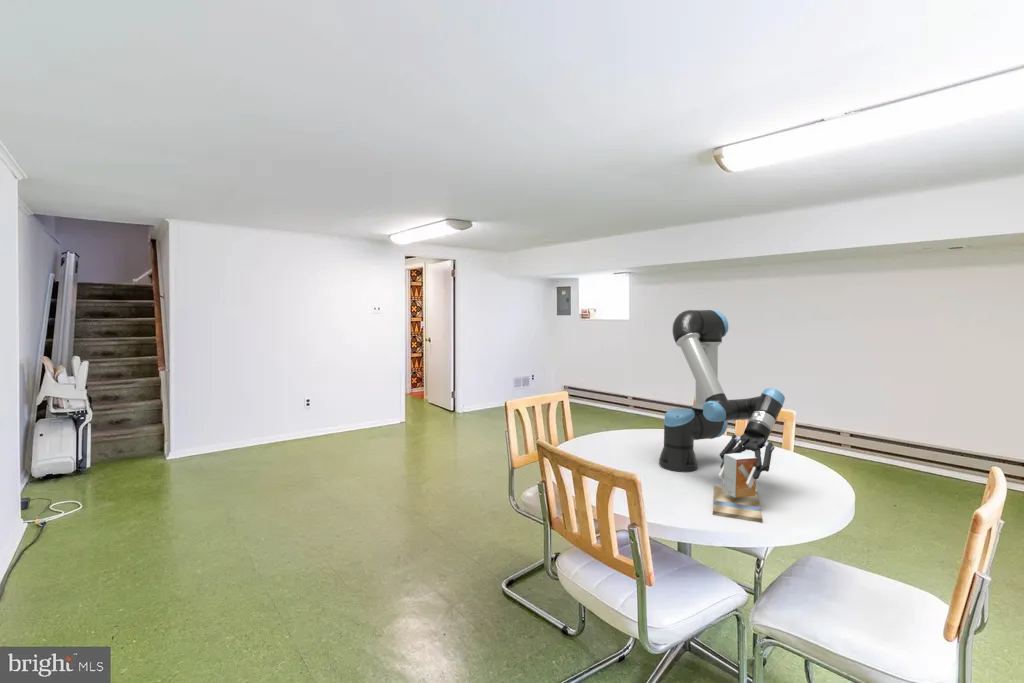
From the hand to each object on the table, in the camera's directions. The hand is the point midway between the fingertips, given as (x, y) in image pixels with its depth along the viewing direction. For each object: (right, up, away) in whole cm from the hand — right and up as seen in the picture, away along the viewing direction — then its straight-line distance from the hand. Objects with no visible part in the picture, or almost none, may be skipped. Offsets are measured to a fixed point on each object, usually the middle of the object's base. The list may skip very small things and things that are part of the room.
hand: (734, 481), depth 158 cm
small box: (+3, -5, +2) cm, 6 cm away
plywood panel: (+1, -8, +1) cm, 8 cm away
